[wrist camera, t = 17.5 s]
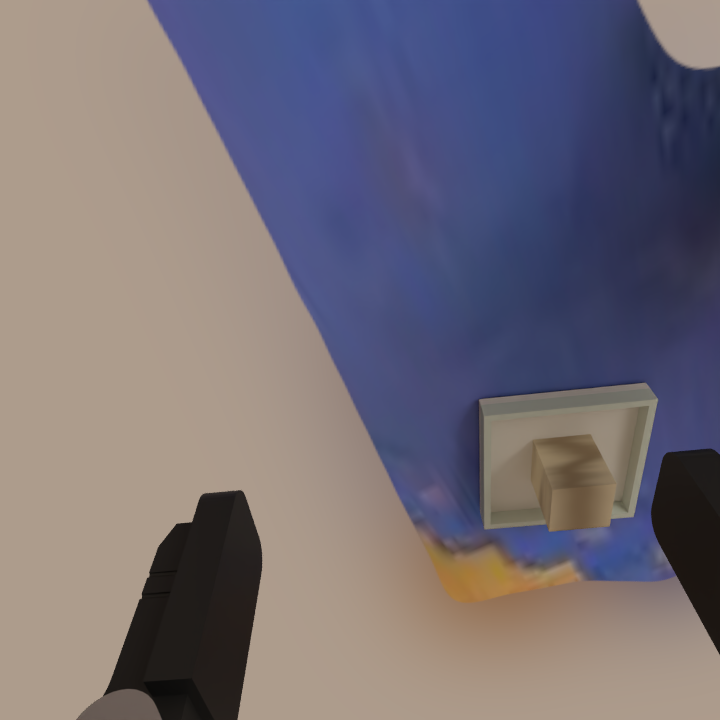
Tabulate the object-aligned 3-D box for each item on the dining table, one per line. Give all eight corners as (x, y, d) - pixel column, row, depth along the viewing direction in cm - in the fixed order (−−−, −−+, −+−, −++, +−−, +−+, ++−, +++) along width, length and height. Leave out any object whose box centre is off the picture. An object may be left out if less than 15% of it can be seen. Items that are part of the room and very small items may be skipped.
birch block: (590, 434, 50) (616, 483, 45) (585, 474, 53) (609, 526, 47) (532, 439, 50) (552, 489, 45) (530, 480, 53) (549, 531, 48)
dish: (645, 382, 48) (657, 399, 46) (624, 498, 55) (633, 516, 53) (478, 399, 49) (484, 416, 47) (479, 510, 56) (484, 529, 54)
